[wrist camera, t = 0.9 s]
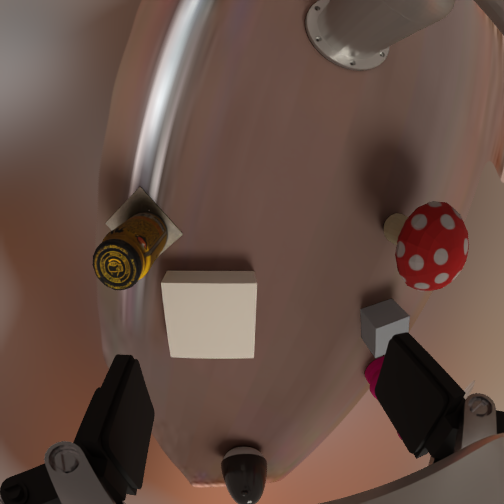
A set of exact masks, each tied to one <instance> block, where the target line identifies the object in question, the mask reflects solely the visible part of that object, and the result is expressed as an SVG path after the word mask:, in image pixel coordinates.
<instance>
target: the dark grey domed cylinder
mask: <svg viewBox="0 0 504 504" xmlns="http://www.w3.org/2000/svg"><path fill="white" fill-rule="evenodd" d="M221 469H222V474H223V478H224V481H225V484H226V486H227V489H228V491H229V493H230V495H231V496H232V498H233V499H234V500H235V501H236V502H237V503H238V504H256V503H257V502H258V501H259V499H260V498H261V496H262V494H263V491H264V487H265V483H266V477H267V461H266V459H265V458H264V457H263V455H262V454H261V453H260V452H259V451H258V450H256V449H254V448H251V447H237V448H234V449H231V450H230V451H228V452H227V453H226V455H225V456H224V458H223V461H222V462H221Z"/></svg>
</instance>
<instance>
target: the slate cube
mask: <svg viewBox="0 0 504 504" xmlns="http://www.w3.org/2000/svg"><path fill="white" fill-rule="evenodd" d="M360 310H361V338H362V339H363V341H364V342H365V344H366V345H367V347H368V348H369V350H370V351H371V353H372V354H373V356H374V357H375V358H377V357H380V356H382V355H385V353H386V350H387V346H388V343H389V340H390V339H392V337H393V335H395V334H400V333H405V332H408V330H409V318H410V316H409V315H408V314H407V313H406V312H405V311H404V310H403V309H402V308H401V307H400V306H399V305H398V304H397V303H396V302H395V301H394V300H393V299H389V300H386V301H383V302H380V303H377V304H374V305H371V306H368V307H365V308H362V309H360Z"/></svg>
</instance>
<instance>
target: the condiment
mask: <svg viewBox="0 0 504 504" xmlns="http://www.w3.org/2000/svg"><path fill="white" fill-rule="evenodd" d="M149 210H150V211H149ZM106 224H107V225H108V227H109V228H110V229H111V230H112V231H111V232H109V233H108V234H107V235H106V237H105V238H104V239H103V241H102V243H101V244H100V245H99V246H98V247H97V249H96V251H95V253H94V255H93V267H94V270H95V273H96V276H97V277H98V278H99V279H100V281H101V282H102V283H103V284H104V285H106V286H107V287H110V288H112V289H114V290H124V289H127V288H131V287H132V286H133V285H134V284H136V282H137V281H138V280H139V279H141V278H143V277H144V276H145V275H146V273H148V271H149V269H150V268H151V266H152V265H153V263H154V261H155V260H156V258H157V257H158V256H159V255H160V254H161V253H162V252H164V251H165V250H166V249H167V248H168V247H169V246H170V245H171V244H173V243H174V242H175V241H176V240H177V239H178V238H179V237H180V236H182V235H183V234H182V233H181V232H180V231H179V229H178V228H177V227H176V226H175V225H174V224H173V223H172V222H171V220H170V219H169V218H168V217H167V216H166V215H165V214H164V213H163V212H162V211H161V209H160V208H159V207H158V206H157V205H156V204H155V203H154V202H153V200H152V199H151V198H150V197H149V196H148V195H147V194H146V193H145V192H144V190H143V189H142V188H141V187H139V188H138V189H137V190H136V191H135V193H134V194H133V195H132V196H131V197H130V198H129V199H128V200H127V201H126V202H125V203H124V204H123V205H122V206H121V207H120V208H119V209H118V210H117V211H116V212H115V213H114V215H113V216H112V217H111V218H110V219H109V220H108V221H107V222H106Z"/></svg>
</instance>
